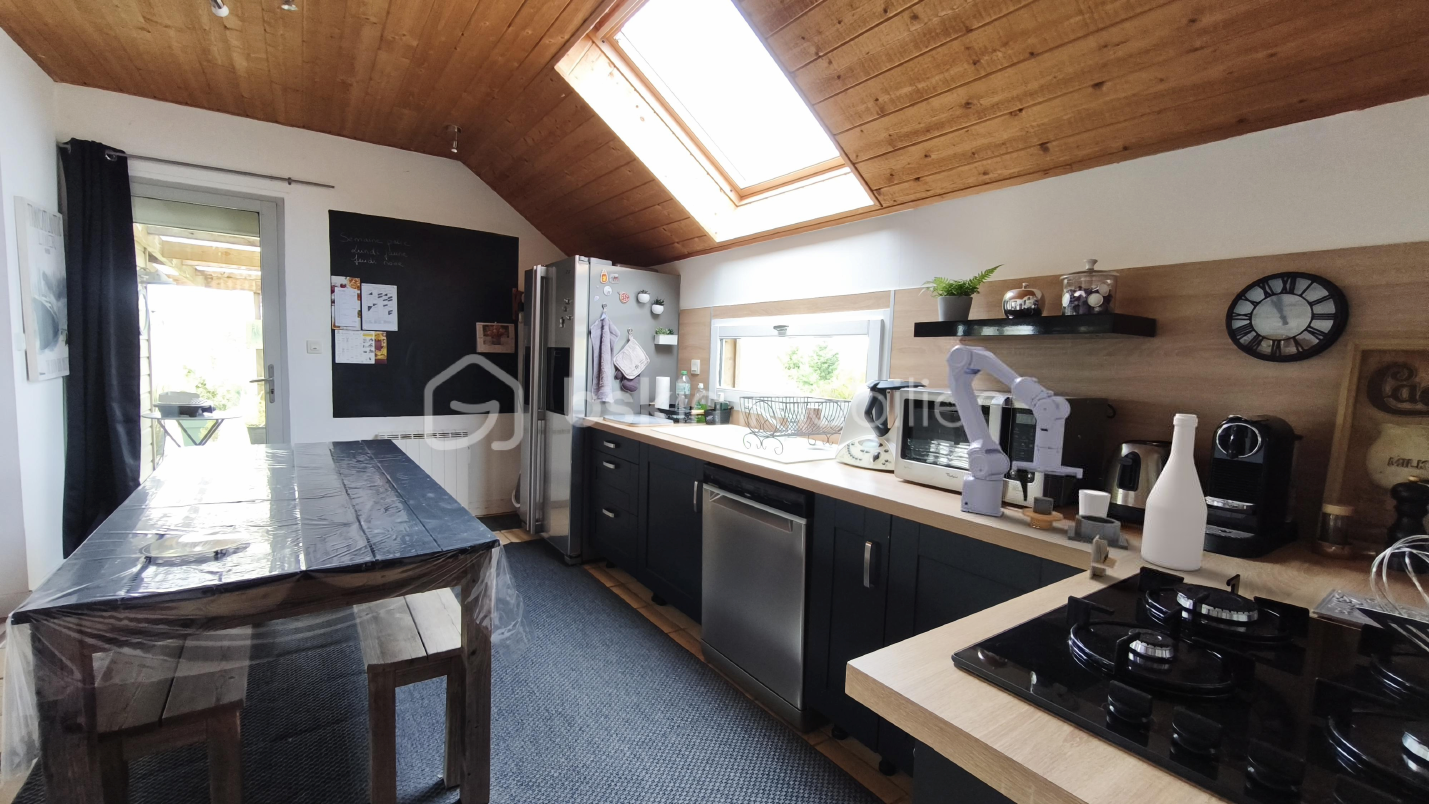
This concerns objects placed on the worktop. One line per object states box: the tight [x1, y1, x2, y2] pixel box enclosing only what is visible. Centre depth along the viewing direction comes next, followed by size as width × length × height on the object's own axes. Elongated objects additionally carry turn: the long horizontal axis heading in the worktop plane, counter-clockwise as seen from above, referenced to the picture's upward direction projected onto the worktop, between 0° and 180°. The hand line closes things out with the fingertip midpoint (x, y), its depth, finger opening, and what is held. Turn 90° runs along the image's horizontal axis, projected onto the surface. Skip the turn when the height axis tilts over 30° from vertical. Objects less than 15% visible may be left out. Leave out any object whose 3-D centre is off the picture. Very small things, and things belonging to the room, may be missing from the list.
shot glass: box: [1078, 489, 1111, 518], centre depth 150 cm, size 7×7×7 cm
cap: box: [1021, 496, 1064, 530], centre depth 140 cm, size 9×9×7 cm
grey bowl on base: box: [1067, 514, 1129, 551], centre depth 132 cm, size 11×11×4 cm
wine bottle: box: [1140, 413, 1208, 572], centre depth 116 cm, size 10×10×30 cm
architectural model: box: [1088, 535, 1118, 580], centre depth 106 cm, size 3×7×7 cm, turn 139°
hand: (1043, 503), depth 140 cm, fingers open, 7 cm apart
